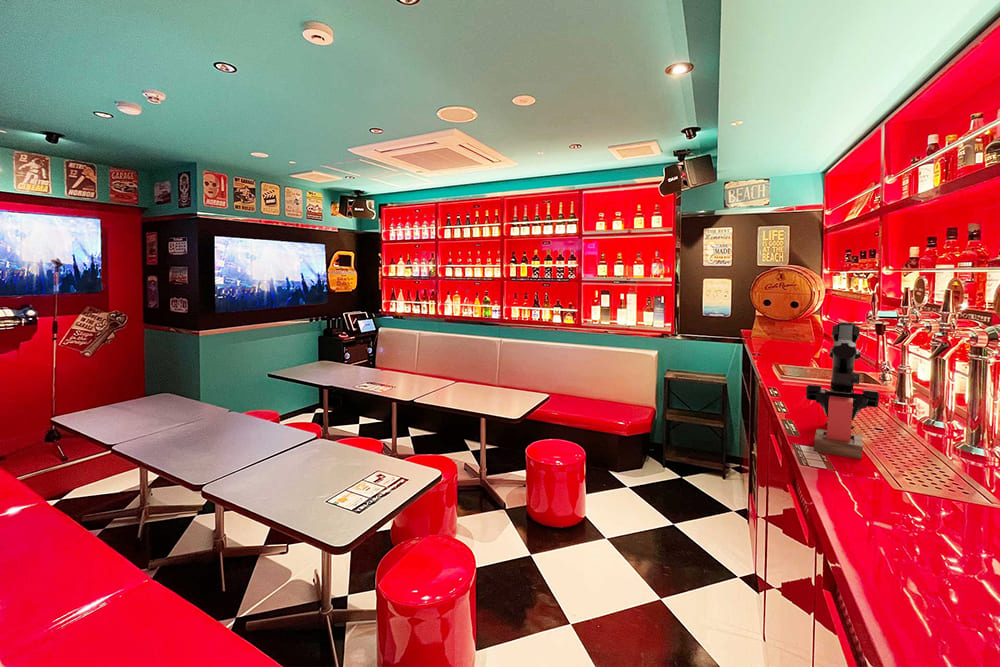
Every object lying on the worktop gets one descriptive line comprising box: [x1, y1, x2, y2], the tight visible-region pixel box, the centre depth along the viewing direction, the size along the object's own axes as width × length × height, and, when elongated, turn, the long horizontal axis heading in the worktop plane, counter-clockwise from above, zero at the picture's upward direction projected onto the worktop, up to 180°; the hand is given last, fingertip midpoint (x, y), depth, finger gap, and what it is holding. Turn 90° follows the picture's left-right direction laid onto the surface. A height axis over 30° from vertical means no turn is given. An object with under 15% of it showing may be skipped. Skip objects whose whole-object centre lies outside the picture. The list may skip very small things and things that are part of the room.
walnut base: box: [813, 428, 864, 460], centre depth 148 cm, size 12×12×4 cm
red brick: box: [826, 396, 853, 442], centre depth 148 cm, size 6×6×12 cm
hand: (839, 418), depth 146 cm, fingers closed on red brick, 6 cm apart
